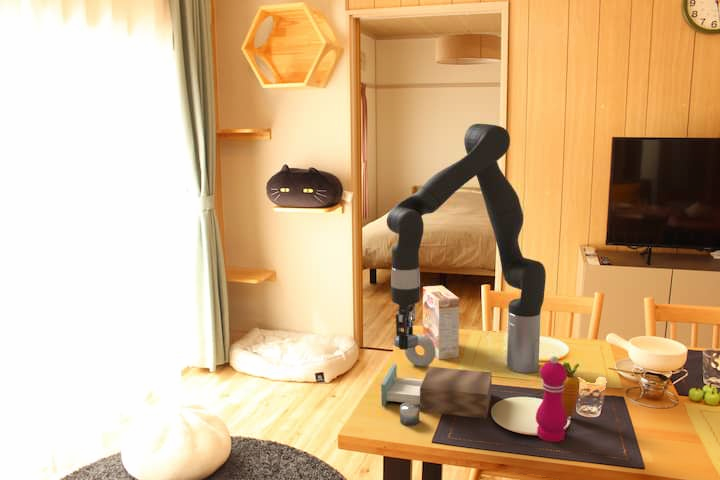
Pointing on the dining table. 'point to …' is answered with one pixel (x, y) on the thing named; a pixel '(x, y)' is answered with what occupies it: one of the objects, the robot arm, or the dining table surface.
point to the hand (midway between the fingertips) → (406, 344)
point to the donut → (428, 352)
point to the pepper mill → (552, 402)
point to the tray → (400, 388)
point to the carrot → (570, 389)
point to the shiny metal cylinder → (409, 414)
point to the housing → (456, 392)
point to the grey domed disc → (411, 340)
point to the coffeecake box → (441, 320)
